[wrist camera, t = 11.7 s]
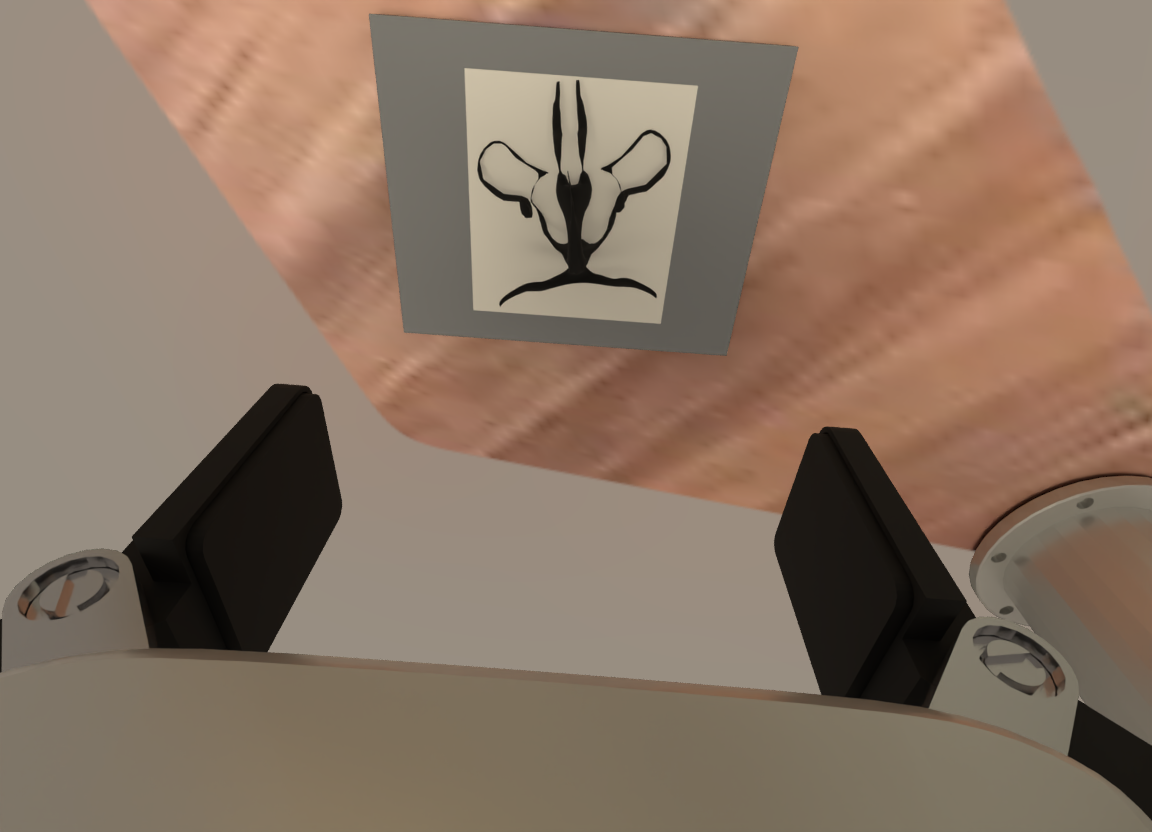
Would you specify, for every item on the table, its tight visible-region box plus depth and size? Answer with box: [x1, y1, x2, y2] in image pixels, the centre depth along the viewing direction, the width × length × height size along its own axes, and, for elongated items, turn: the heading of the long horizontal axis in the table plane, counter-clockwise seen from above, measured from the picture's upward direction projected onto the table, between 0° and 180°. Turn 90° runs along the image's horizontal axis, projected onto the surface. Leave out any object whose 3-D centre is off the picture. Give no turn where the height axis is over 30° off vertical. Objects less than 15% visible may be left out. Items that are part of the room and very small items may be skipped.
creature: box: [477, 80, 671, 307], centre depth 23 cm, size 8×5×8 cm
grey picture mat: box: [369, 14, 798, 356], centre depth 26 cm, size 16×13×1 cm
